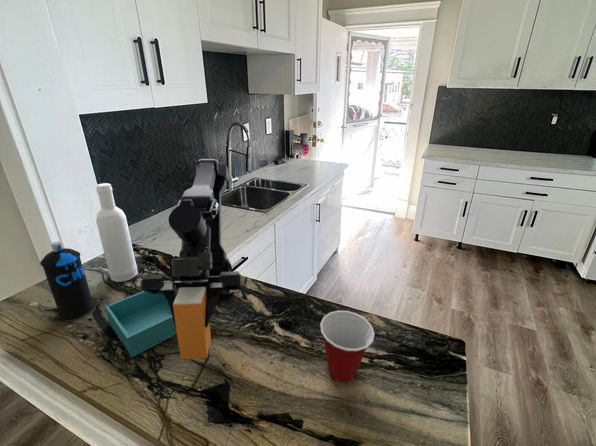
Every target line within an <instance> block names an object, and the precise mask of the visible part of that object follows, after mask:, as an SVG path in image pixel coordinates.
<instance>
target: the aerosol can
mask: <svg viewBox="0 0 596 446" xmlns="http://www.w3.org/2000/svg"><path fill="white" fill-rule="evenodd" d="M50 246H51V248H52V250H51V251H50V252H48V253H47V254H45V256H43V257H42V259H41V260H40V262H39V264H40V266H41V267H42V268H43V272H44V275H45V277H46V280H47V283H48V286H49V289H50V291H51V294H52V298H53V300H54V303H55V306H56V308H57V312H58V313H57V315H58V317H59V318H60V319H61V320H73V319H77V318H80V317H82V316H85V315H87V314H88V313H89V312H91V311H92V310H93V309H94V307H95V305H96V304H95V301H94V300H93V297H92V294H91V290H90V286H89V284H88V280H87V277H86V274H85V273H86V272H85V270H84V266H83V263H82V259H81V253H80V252H79V251H77V250H75V249H72V248H68V247H67V248H64V247H63V245H62V242H61V241H54V242H52V243H51V244H50Z"/></svg>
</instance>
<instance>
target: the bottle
mask: <svg viewBox="0 0 596 446" xmlns="http://www.w3.org/2000/svg"><path fill="white" fill-rule="evenodd" d="M95 187H96V193H97V196H98V200H99V204H100V210H99V211H98V212H97V213H96V218H95V220H96V222H95V223H96V227H97V231H98V234H99V238H100V243H101V246H102V250H103V254H104V258H105V262H106V266H107V270H108V275H109V277H110V280H111V282H112V281H113V282H116V283H122V282H127V281H129V280H131V279H134V278H135V277H136V276H137V275H138V273H139V271H138V265H137V262H136V257H135V252H134V248H133V243H132V239H131V234H130V229H129V224H128V220H127V216H126V214H125V213H124V211H123V210H122V209H121V208H119V207H118V206H116V202H115V198H114V194H113V193H114V192H113V187H112V184H111V183H108V182H103V183H98V184H96V186H95Z"/></svg>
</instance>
